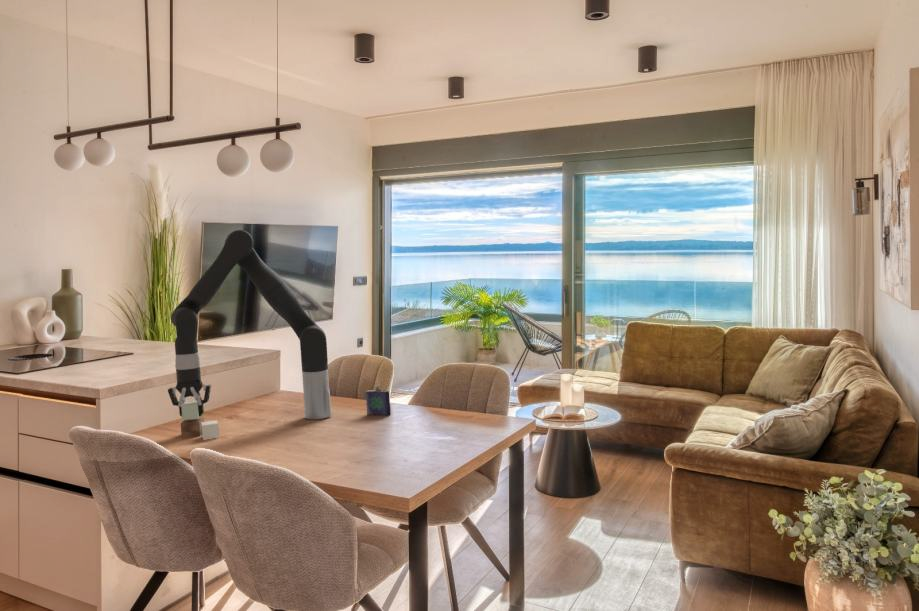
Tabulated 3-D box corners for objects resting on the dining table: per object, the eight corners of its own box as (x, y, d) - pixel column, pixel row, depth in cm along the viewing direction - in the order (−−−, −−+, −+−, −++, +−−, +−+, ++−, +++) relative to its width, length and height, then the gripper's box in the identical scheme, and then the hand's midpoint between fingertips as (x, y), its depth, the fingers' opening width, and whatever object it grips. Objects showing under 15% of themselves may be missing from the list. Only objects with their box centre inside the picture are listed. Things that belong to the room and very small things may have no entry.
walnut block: (204, 432, 227) (203, 417, 227) (200, 436, 221) (199, 421, 221) (186, 433, 226) (185, 419, 226) (181, 438, 220) (180, 423, 220)
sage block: (201, 415, 226) (200, 400, 226) (198, 418, 221) (196, 404, 221) (186, 416, 226) (185, 402, 225) (182, 420, 221) (181, 405, 220)
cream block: (218, 434, 222) (217, 420, 222) (219, 438, 218) (218, 423, 217) (202, 437, 220) (201, 422, 220) (203, 440, 216) (202, 425, 215)
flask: (365, 415, 239) (364, 386, 239) (369, 413, 242) (367, 384, 241) (389, 416, 236) (387, 386, 236) (392, 414, 239) (390, 385, 238)
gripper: (212, 363, 227) (216, 412, 228) (168, 366, 225) (172, 415, 226) (207, 366, 220) (211, 417, 221) (162, 370, 217) (166, 420, 219)
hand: (191, 416), depth 223 cm, fingers closed on sage block, 4 cm apart
